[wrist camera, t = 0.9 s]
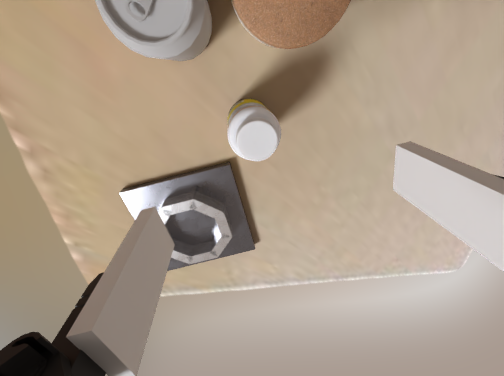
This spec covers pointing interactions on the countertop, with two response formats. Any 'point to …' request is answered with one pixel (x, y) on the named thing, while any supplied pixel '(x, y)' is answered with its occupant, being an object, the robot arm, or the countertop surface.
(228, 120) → the supplement bottle
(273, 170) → the countertop surface
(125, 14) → the can
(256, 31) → the lidded jar
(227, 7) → the countertop surface
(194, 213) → the collar
